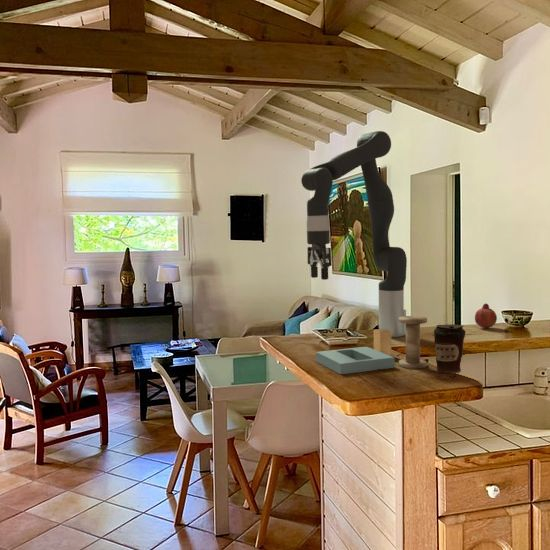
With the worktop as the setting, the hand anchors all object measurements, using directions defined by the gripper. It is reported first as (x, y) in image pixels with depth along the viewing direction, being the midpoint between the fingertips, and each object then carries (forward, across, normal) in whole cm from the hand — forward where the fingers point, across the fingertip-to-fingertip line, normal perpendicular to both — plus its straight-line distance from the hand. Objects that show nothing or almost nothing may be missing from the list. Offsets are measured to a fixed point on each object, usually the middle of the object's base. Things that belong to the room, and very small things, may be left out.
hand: (319, 278), depth 179 cm
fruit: (+25, +7, -74) cm, 78 cm away
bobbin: (+24, -30, -16) cm, 42 cm away
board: (+24, -23, -1) cm, 33 cm away
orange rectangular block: (+24, -15, -14) cm, 32 cm away
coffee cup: (+24, -40, -21) cm, 51 cm away
